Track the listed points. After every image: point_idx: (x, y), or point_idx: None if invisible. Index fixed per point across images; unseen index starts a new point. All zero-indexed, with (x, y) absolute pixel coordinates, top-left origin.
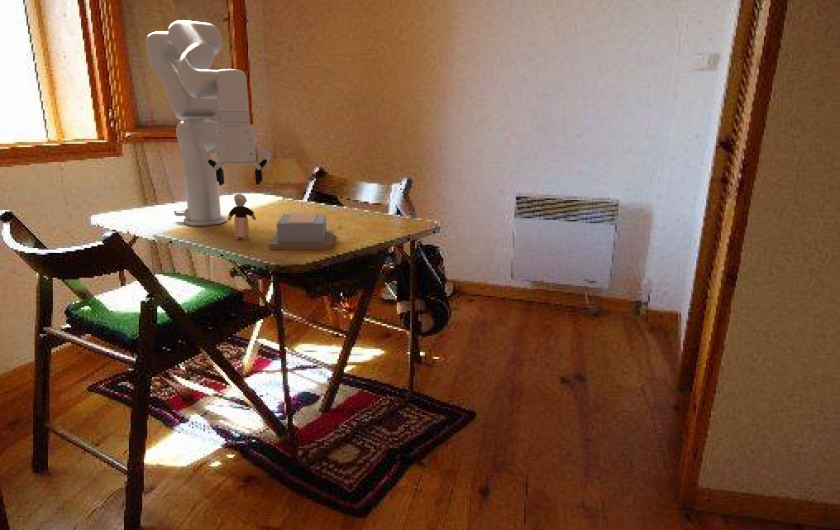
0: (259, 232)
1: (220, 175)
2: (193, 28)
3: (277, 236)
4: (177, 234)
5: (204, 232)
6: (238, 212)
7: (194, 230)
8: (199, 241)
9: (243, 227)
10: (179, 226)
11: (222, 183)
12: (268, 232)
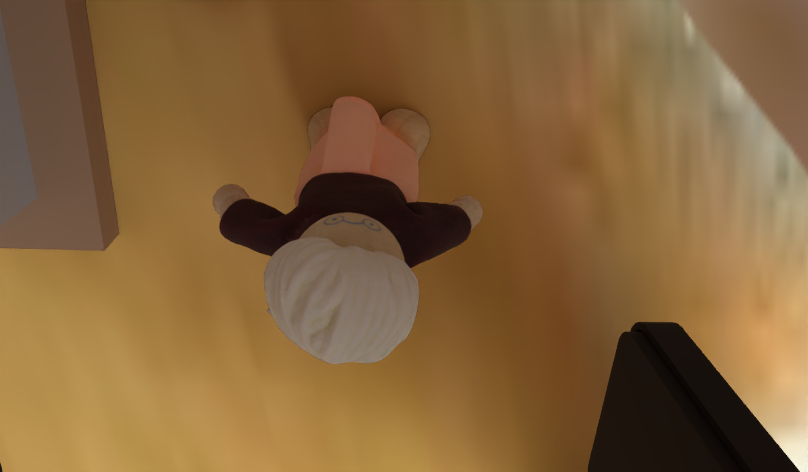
0: None
1: (723, 456)
2: None
3: (35, 27)
4: (803, 284)
5: None
6: (369, 192)
7: None
8: (658, 81)
9: (332, 128)
10: None
11: (618, 377)
12: (211, 314)
